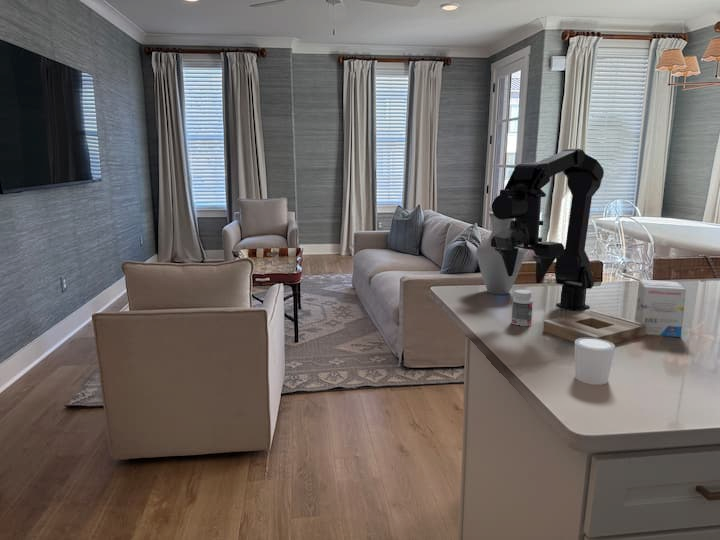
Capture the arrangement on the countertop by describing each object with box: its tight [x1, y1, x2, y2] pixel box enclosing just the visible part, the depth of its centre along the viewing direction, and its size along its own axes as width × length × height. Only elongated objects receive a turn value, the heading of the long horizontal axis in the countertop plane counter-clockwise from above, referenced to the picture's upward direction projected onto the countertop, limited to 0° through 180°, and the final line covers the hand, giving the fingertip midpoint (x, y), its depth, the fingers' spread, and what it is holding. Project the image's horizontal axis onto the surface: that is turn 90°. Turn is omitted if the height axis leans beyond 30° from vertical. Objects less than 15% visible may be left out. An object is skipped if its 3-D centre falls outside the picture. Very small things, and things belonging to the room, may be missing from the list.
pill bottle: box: [511, 289, 533, 327], centre depth 128 cm, size 5×5×8 cm
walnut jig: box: [542, 309, 646, 345], centre depth 121 cm, size 18×14×3 cm
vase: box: [476, 211, 526, 296], centre depth 158 cm, size 14×14×25 cm
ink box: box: [634, 278, 687, 338], centre depth 122 cm, size 9×8×12 cm
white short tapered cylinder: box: [574, 338, 616, 386], centre depth 95 cm, size 7×7×7 cm
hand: (523, 279), depth 127 cm, fingers open, 9 cm apart
